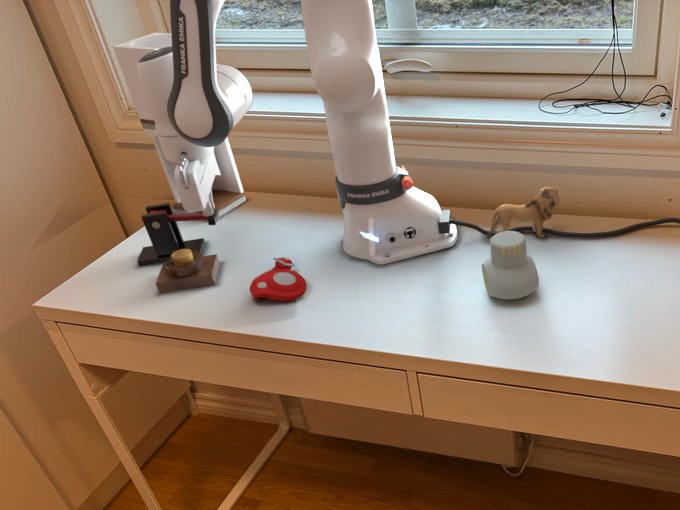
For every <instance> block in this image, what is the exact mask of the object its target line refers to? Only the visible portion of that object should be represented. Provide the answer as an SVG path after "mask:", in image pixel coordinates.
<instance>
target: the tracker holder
mask: <svg viewBox="0 0 680 510" xmlns="http://www.w3.org/2000/svg"><path fill="white" fill-rule="evenodd" d="M273 261H275V262H274V267H272V268H271V269H270V270H267V271H264V272H263V273H261V274H260V275H258V276H256V277H255V278H254V279H252V282H251V283H250V285H249V294H250V295H251V297H252V298H253V300H255V301H256V300H259V299H261V298H267V299H271V300H276V301H287V302H288V301H295V300H297V299H300V298H301V297H303V296H305V293H306V292H307V288H308V287H307V286H308V283H307V281H306V279H305V277H304V276H303V275H301V274H300V273H299V272H297V271H295V270H293V269H292V267H296V264H295V263H294V262H293V261H292V260H291V259H290V258H289V257H282V256H281V257H273Z"/></svg>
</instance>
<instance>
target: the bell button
mask: <svg viewBox="0 0 680 510" xmlns="http://www.w3.org/2000/svg"><path fill="white" fill-rule="evenodd" d="M171 257H172V260H173V262H174V265H175V266H182V265H186V264H189V263H191V262H192V261H194V257H193V254H192V252H191V250H190V249H181V250H177V251H175V252H174V253H173V254H172V255H171Z"/></svg>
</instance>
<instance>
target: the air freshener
mask: <svg viewBox="0 0 680 510" xmlns="http://www.w3.org/2000/svg"><path fill="white" fill-rule="evenodd" d="M502 231H503V230H502ZM489 246H490V257H488V258H487V259H486V260H485V261H484V262H483V263H482V264H481V271H482V277H483V282H484V286H485V288H486V291H487V294H488V295H489V296H491V297H493V298H496V299H500V300H506V301H507V300H508V301H510V300H518V299H522V298H524V297H527V296H529V295H531V294H532V293H534V292H535V291H536V290H537V289H538V287H539V285H540V278H539V273H538V270H537V269H538V268H537V265H536V263H535V261H534V259H533V257H532V256H530V255H529V254H527V238H526V236H525V235H524V234H523V233H521V232H520V231H518V232H516V231H503V232H499V233H497V234H495V235H494V236H491V237H490V240H489Z"/></svg>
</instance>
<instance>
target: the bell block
mask: <svg viewBox="0 0 680 510" xmlns="http://www.w3.org/2000/svg"><path fill="white" fill-rule="evenodd" d="M191 252H192V254H193V257H194V261H192V262H191V263H189V264H186V265H182V266H175V265H174V262H173V260H172V257H171V258H169V259H168V260H167V261H166V262H163V263H162V265H161V267H160V270H159V273H158V276H157V279H156V281H155V286H156V288H157V290H158V293H159V294H165V293H166V294H167V293H172V292H178V291H184V290H185V291H186V290H191V289H192V290H193V289H197V288H205V287H209V286H215V285H216V284H217V280H218V279H217V278H218V274H219V271H220V266H221V263H220V260H219V257H218V254H216V253H215V254H209V255H203V254H202V255H201V254H200V253H199V252H194V251H191Z"/></svg>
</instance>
